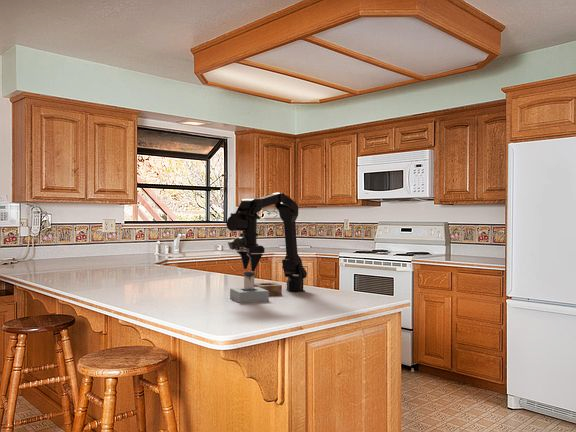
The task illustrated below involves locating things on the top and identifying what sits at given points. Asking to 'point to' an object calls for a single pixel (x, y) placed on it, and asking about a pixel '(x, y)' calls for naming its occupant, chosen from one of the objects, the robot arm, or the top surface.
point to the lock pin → (248, 280)
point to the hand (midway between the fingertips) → (249, 270)
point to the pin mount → (270, 287)
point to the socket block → (249, 295)
